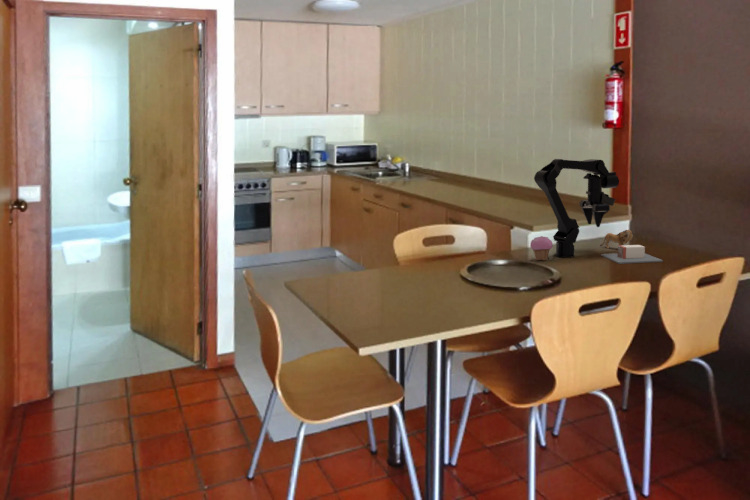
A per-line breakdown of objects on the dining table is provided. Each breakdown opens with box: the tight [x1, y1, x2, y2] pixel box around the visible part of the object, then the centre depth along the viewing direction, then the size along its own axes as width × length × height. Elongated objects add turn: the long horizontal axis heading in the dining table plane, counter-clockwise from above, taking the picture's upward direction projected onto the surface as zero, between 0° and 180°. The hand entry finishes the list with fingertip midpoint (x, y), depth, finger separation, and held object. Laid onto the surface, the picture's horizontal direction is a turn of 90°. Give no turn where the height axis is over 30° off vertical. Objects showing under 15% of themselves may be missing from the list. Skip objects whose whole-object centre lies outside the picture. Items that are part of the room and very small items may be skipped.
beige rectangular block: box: [617, 244, 646, 259], centre depth 274 cm, size 5×9×5 cm, turn 94°
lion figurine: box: [599, 229, 634, 250], centre depth 296 cm, size 15×5×9 cm, turn 47°
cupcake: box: [529, 235, 553, 261], centre depth 276 cm, size 9×9×10 cm
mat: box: [600, 252, 664, 265], centre depth 274 cm, size 18×18×1 cm
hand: (593, 225), depth 286 cm, fingers open, 9 cm apart
